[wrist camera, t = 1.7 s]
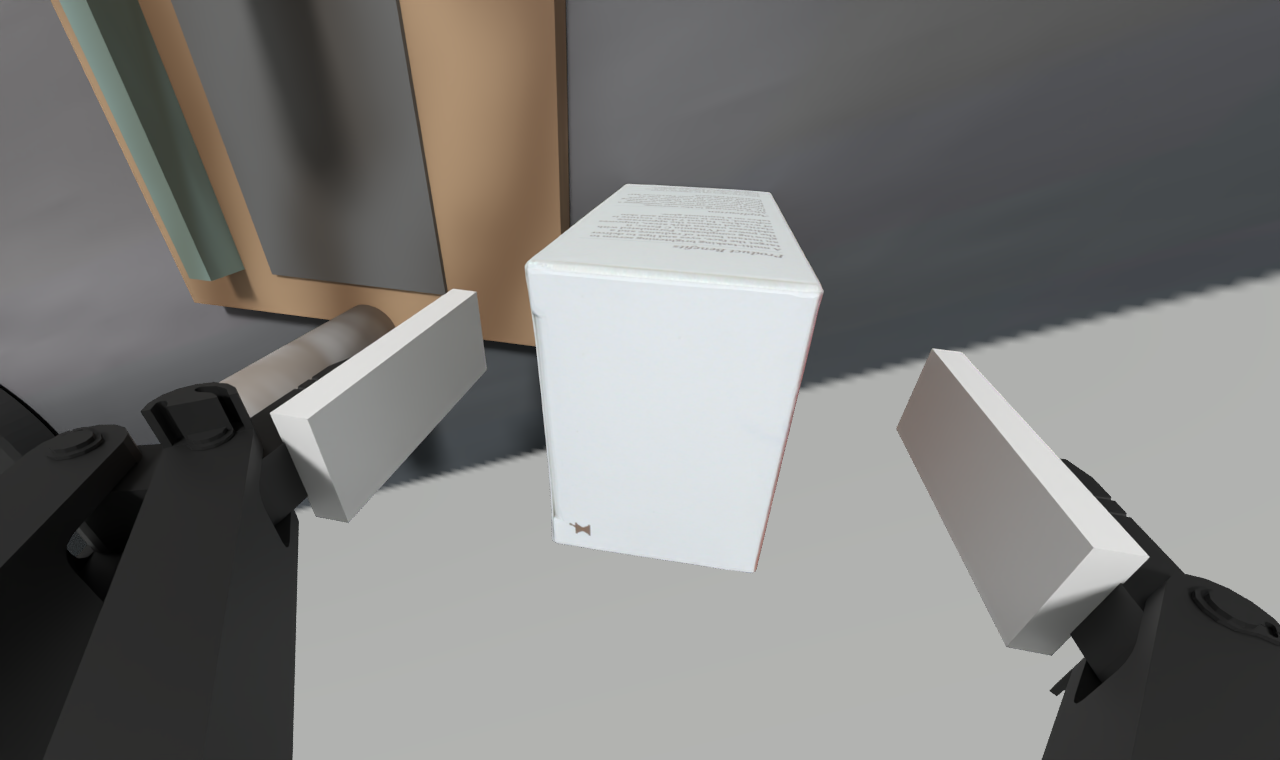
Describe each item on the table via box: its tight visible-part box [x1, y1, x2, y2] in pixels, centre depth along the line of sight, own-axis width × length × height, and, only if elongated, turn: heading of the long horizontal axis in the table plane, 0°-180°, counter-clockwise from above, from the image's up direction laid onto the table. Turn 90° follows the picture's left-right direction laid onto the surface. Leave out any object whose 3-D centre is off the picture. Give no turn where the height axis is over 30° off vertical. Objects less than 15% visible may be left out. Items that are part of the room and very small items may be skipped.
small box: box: [525, 184, 823, 573], centre depth 15 cm, size 8×6×10 cm
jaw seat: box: [51, 0, 570, 418], centre depth 14 cm, size 18×17×9 cm
